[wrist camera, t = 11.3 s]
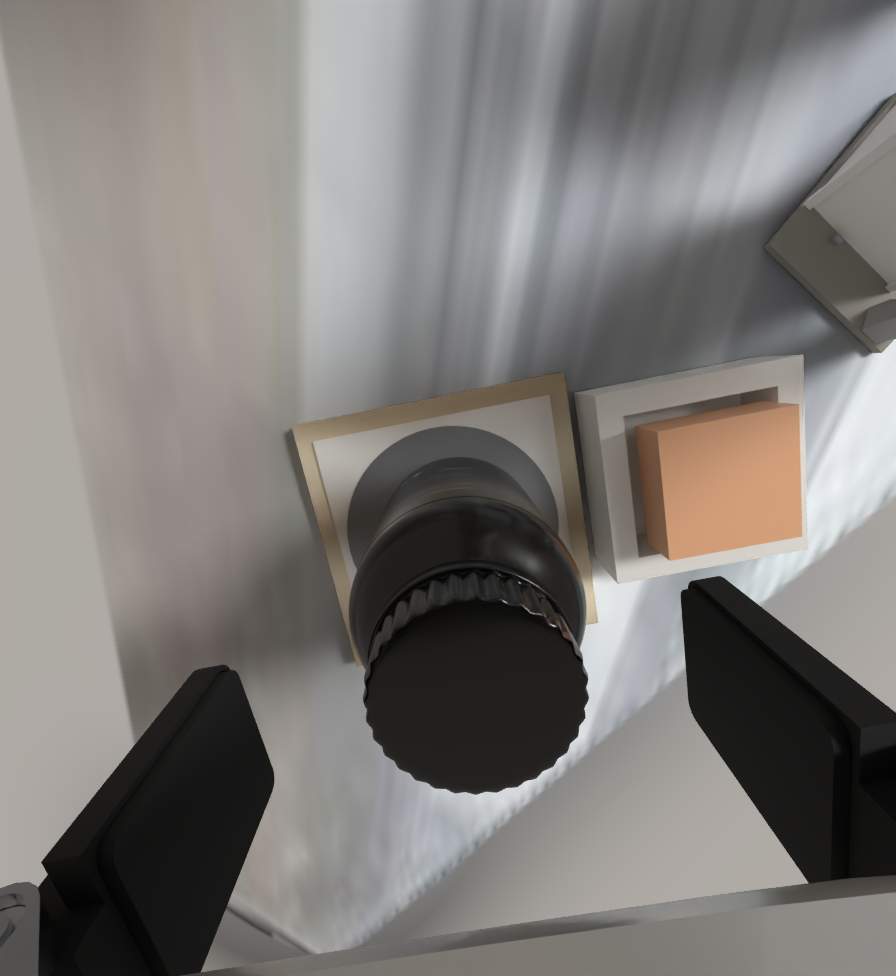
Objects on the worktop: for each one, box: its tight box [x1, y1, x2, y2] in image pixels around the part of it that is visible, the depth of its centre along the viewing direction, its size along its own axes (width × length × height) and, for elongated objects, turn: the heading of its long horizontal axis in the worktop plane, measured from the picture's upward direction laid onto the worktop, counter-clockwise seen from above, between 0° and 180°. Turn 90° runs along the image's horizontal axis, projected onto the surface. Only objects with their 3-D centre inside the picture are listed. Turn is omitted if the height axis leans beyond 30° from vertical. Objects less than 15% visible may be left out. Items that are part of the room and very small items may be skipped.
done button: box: [635, 401, 802, 561], centre depth 18 cm, size 5×5×2 cm
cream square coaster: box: [292, 372, 598, 666], centre depth 22 cm, size 12×12×1 cm
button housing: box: [574, 354, 808, 584], centre depth 21 cm, size 8×8×3 cm
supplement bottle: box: [349, 457, 589, 795], centre depth 16 cm, size 7×7×12 cm
